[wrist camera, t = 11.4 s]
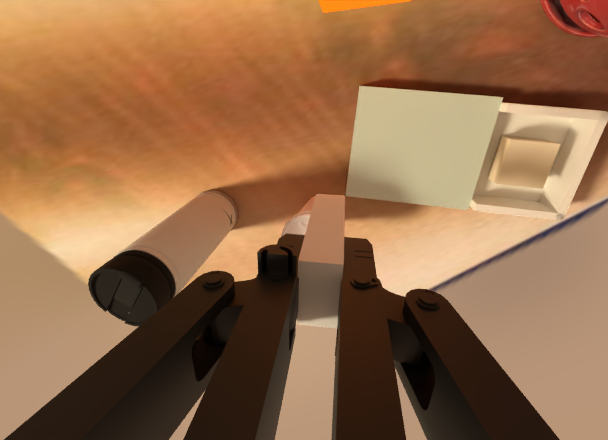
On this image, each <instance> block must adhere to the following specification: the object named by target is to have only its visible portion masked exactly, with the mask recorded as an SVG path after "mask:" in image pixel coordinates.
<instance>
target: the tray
mask: <svg viewBox="0 0 608 440" xmlns="http://www.w3.org/2000/svg"><path fill="white" fill-rule="evenodd" d="M607 121H608V111H599V110H589V109H579V108H566V107H554V106H542V105H529V104H517V103H505V102H502V103H501V106H500V110H499V113H498V116H497V119H496V123H495V126H494V129H493V132H492V136H491V139H490V142H489V145H488V148H487V152H486V155H485V158H484V161H483V165H482V168H481V171H480V174H479V178H478V181H477V184H476V187H475V191H474V194H473V197H472V200H471V204H470V207H471V208H472V209H473V210H474V211H480V212H489V213H498V214H507V215H515V216H524V217H533V218H542V219H550V220H559V221H563V219H564V217H565V215H566V213H567V210H568V208H569V206H570V204H571V202H572V199H573V197H574V195H575V193H576V190H577V188H578V186H579V184H580V181H581V179H582V177H583V175H584V172H585V170H586V168H587V166H588V164H589V161H590V159H591V157H592V155H593V152H594V150H595V148H596V146H597V143H598V141H599V139H600V137H601V135H602V132H603V130H604V128H605V126H606V123H607ZM501 135H507V136H517V137H528V138H538V139H547V140H550V141H554V142H556V143H559V144H561V145H560V147H559V150H558V152H557V155H556V157H555V160H554V162H553V165H552V167H551V170H550V172H549V175H548V177H547V180H546V182H545V185H544V187H543V189H540V188H530V187H521V186H511V185H502V184H496V183H494V182H493V181H491V180H490V179H489V175H488V174H489V171H490V168H491V165H492V162H493V159H494V156H495V153H496V150H497V147H498V144H499V141H500V138H501Z"/></svg>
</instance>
